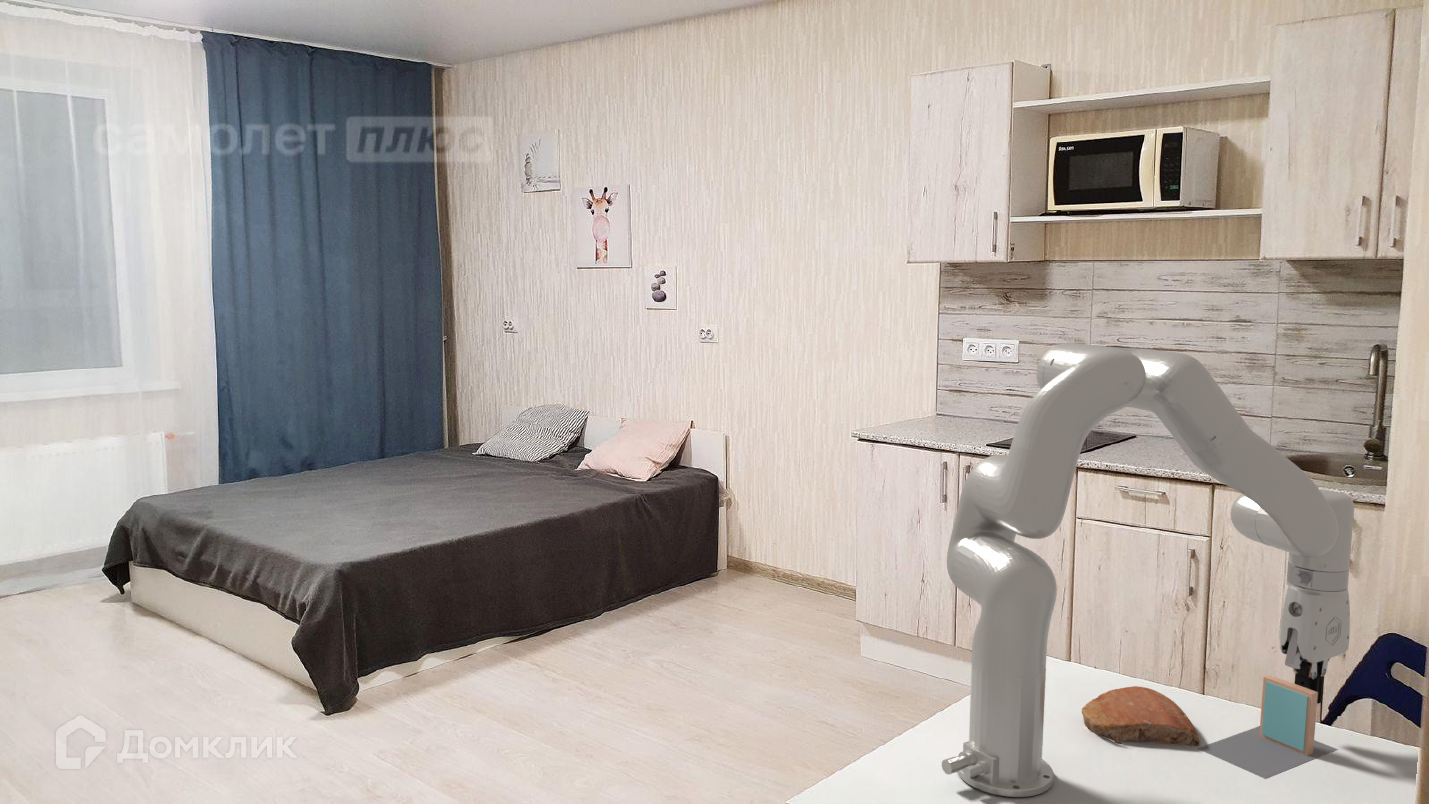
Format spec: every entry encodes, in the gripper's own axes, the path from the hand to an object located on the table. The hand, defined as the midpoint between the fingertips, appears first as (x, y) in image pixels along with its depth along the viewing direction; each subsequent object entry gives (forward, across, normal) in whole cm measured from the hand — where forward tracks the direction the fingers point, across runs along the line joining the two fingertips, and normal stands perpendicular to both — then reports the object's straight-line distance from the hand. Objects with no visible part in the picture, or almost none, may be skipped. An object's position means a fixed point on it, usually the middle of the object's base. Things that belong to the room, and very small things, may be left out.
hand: (1307, 700), depth 148 cm
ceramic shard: (+7, -18, +16) cm, 25 cm away
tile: (+6, -5, 0) cm, 7 cm away
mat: (+6, -8, 0) cm, 10 cm away
